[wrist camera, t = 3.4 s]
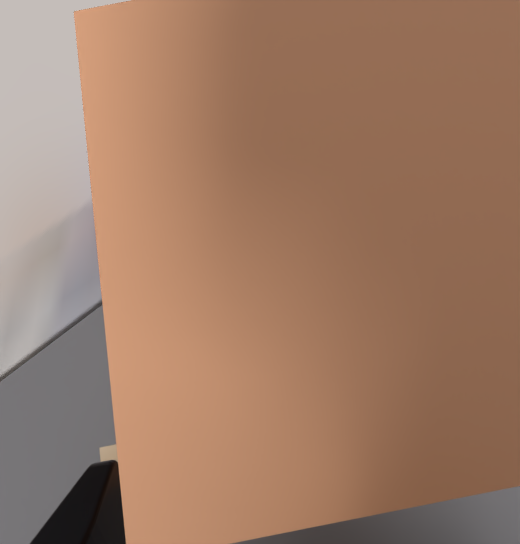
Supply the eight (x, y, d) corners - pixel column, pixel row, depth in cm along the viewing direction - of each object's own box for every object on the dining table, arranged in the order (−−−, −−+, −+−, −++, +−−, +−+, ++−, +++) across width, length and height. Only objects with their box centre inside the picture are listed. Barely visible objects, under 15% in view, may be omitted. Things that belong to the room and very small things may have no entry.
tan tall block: (400, 412, 17) (809, 428, 4) (249, 442, 17) (127, 562, 4) (362, 267, 19) (559, -83, 5) (223, 294, 19) (73, 11, 5)
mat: (351, 122, 21) (353, 115, 21) (670, 437, 17) (681, 438, 17) (-82, 449, 18) (-92, 450, 18) (177, 927, 14) (174, 945, 14)
